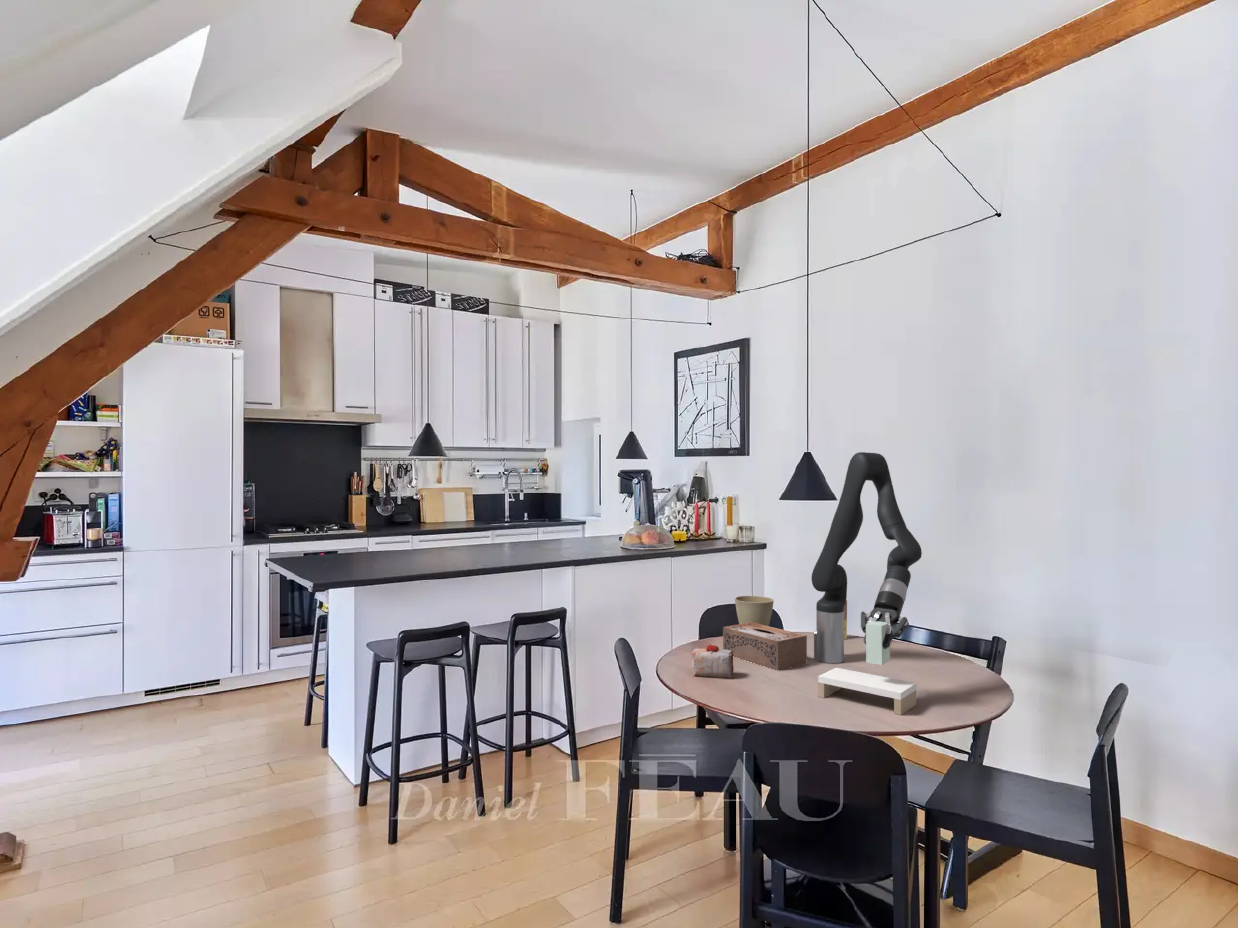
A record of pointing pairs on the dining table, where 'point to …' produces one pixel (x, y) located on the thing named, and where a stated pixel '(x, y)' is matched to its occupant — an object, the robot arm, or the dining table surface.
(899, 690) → the shelf
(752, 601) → the plant pot
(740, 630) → the tissue box cover
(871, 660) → the pale green rectangular block
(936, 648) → the dining table surface
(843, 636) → the robot arm
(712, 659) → the food item
